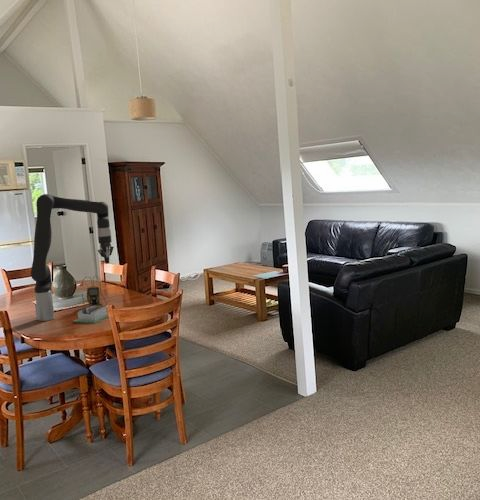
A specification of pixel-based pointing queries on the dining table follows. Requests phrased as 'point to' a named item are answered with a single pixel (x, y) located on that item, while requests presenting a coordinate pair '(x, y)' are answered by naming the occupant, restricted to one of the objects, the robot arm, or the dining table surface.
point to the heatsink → (92, 315)
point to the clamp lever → (94, 308)
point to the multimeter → (93, 294)
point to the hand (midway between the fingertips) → (107, 263)
